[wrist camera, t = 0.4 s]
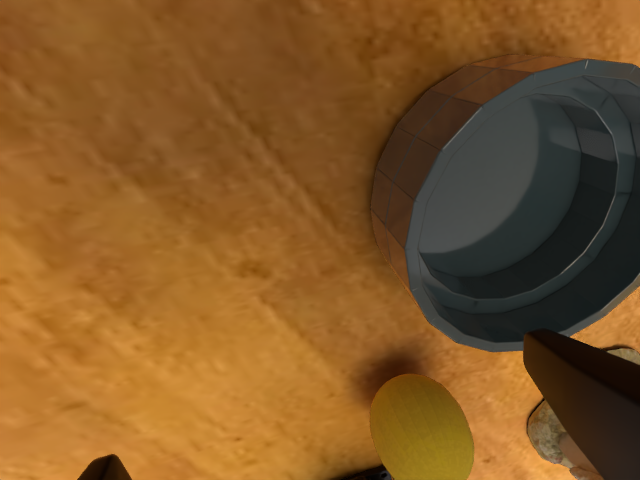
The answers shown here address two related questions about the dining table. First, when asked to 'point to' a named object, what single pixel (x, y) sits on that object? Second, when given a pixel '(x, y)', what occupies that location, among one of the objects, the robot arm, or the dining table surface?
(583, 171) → the grey pet bowl
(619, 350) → the ceramic model
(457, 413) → the lemon
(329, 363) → the dining table surface
